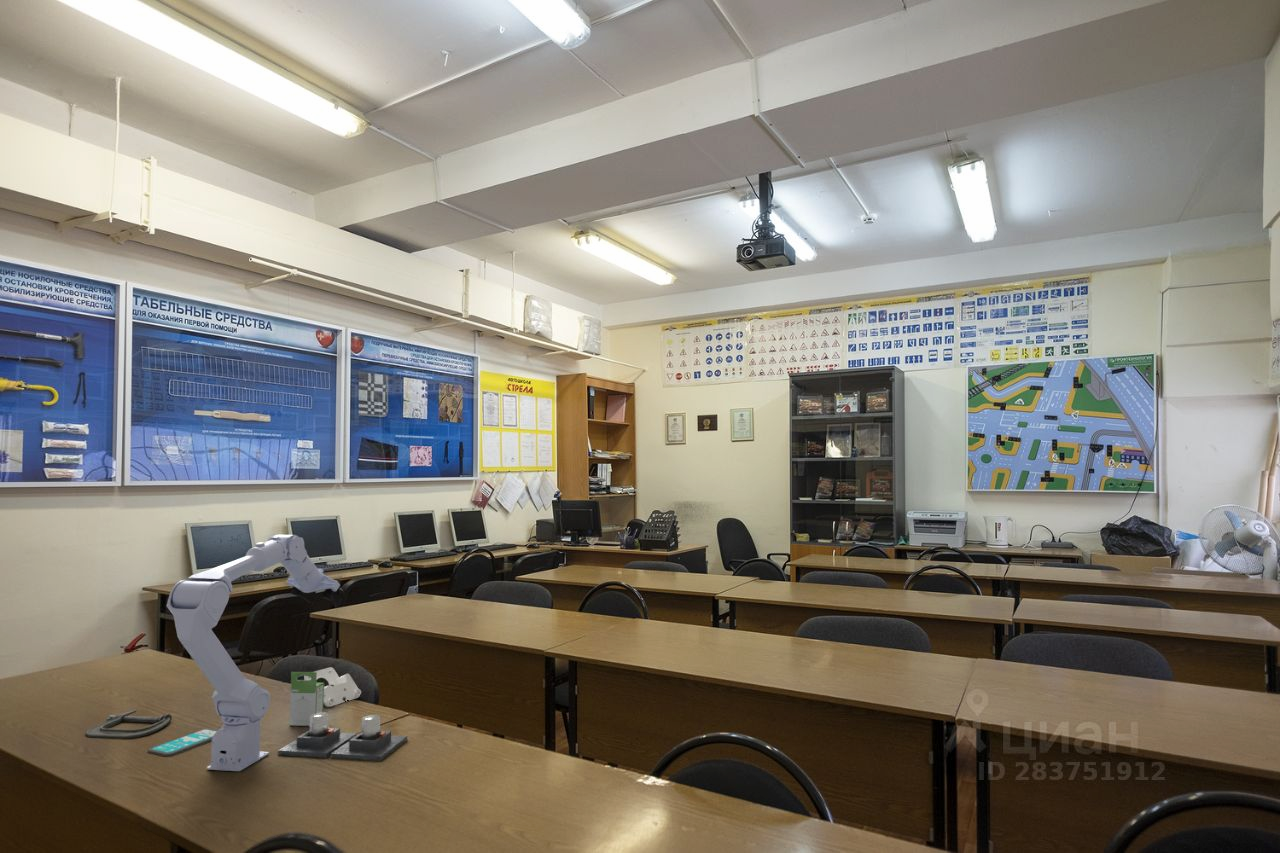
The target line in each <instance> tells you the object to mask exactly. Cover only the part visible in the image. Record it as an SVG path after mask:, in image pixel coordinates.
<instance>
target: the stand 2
mask: <svg viewBox="0 0 1280 853" xmlns="http://www.w3.org/2000/svg"><path fill="white" fill-rule="evenodd" d="M407 741H408V735H398V734H397V735H393V734H392V731H391V730H381V729H380V734H379V738H377V739H376V740H361V732H359V733H357V735H356V736H355V737H353V738H352V739H350V740H349V742H347V743H346V744H344V745H343V746H341V747H340V748H338V749H337V750H335V751H334V752H333V753H331V755H330V759H337V758H338V759H340V760H354V761H355V760H356V761H358V760H359V761H369V762H370V761H372V762H382V761H383V760H384V759H385V758H387V757H388V756H390V755H391V754H392V753H393V752H395V751H396V750H397V749H398V748H399V747H401V746H402V745H404V743H406V742H407ZM338 759H337V760H338Z"/></svg>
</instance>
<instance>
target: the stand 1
mask: <svg viewBox="0 0 1280 853" xmlns="http://www.w3.org/2000/svg"><path fill="white" fill-rule="evenodd" d="M356 735H358V733H357V732H342V731H341V728H340V727H328V731H327V735H325V736H324V737H309V730H307V731H306V732H304V733H302V734H300V735H298V736H297V737H296V739H294V740H293V741H291V742H290V743H289V744H286V745H284V746H283V747H282V748H280V749H278V750H277V755H278V756H290V757H308V758H322V759H327V758H329V757H331V753H333V752H334V751H335V750H337V749H338V748H340V747H341V746H343V745H344V744H346V743H347V742H349V740H350V739H352V738H353V737H355V736H356Z"/></svg>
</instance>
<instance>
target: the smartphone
mask: <svg viewBox="0 0 1280 853" xmlns="http://www.w3.org/2000/svg"><path fill="white" fill-rule="evenodd" d="M220 729H221V728H219V729H218V728H214V727H206V728H205V727H204V728H202V729H200V730H197V731H194V732H191V733H189V734H186V735H183V736H180V737H177V738H175V739H172V740H167V741H166V742H163V743H160V744H158V745H155V746H151V747H149V748H147V753H149V754H153V755H158V756H162V757H172V756H176V755H178V754H181V753H183V752H186V751H187V752H188V751H189V750H192V749H194V748H197V747H200V746H202V745H205V744H207V743H210V742H212V738H213V736H214V734H215V733H216V732H217V731H218V730H220Z"/></svg>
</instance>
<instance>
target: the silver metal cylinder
mask: <svg viewBox="0 0 1280 853" xmlns="http://www.w3.org/2000/svg"><path fill="white" fill-rule="evenodd" d="M329 716H330V714H329V712H325V711H323V712H320V713H315V714H312V715H310V726H309V728H308V729H309V730H308V731H309V737H324V736H325V735H327V731H328V728H329V718H330V717H329Z"/></svg>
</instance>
